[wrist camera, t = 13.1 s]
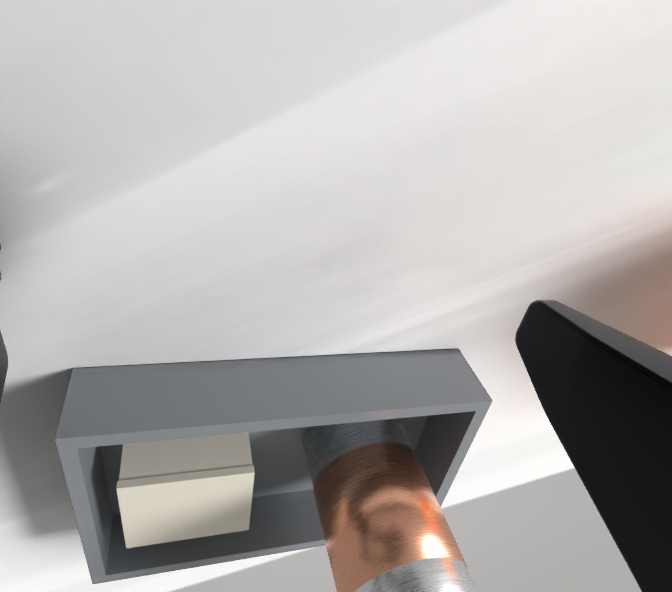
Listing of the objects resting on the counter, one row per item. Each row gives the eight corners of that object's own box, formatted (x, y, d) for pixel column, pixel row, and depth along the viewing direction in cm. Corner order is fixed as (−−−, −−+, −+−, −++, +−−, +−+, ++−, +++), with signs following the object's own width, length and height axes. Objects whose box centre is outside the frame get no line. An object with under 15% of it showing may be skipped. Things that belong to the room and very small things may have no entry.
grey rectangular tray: (102, 514, 29) (92, 584, 26) (72, 368, 22) (54, 439, 19) (408, 474, 35) (430, 527, 32) (458, 348, 28) (492, 400, 25)
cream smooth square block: (132, 485, 27) (126, 548, 24) (124, 424, 24) (116, 488, 22) (242, 472, 29) (248, 529, 26) (247, 414, 26) (254, 472, 23)
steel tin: (280, 444, 28) (337, 731, 18) (360, 383, 27) (470, 658, 17) (343, 475, 32) (420, 728, 22) (417, 423, 30) (535, 668, 20)
